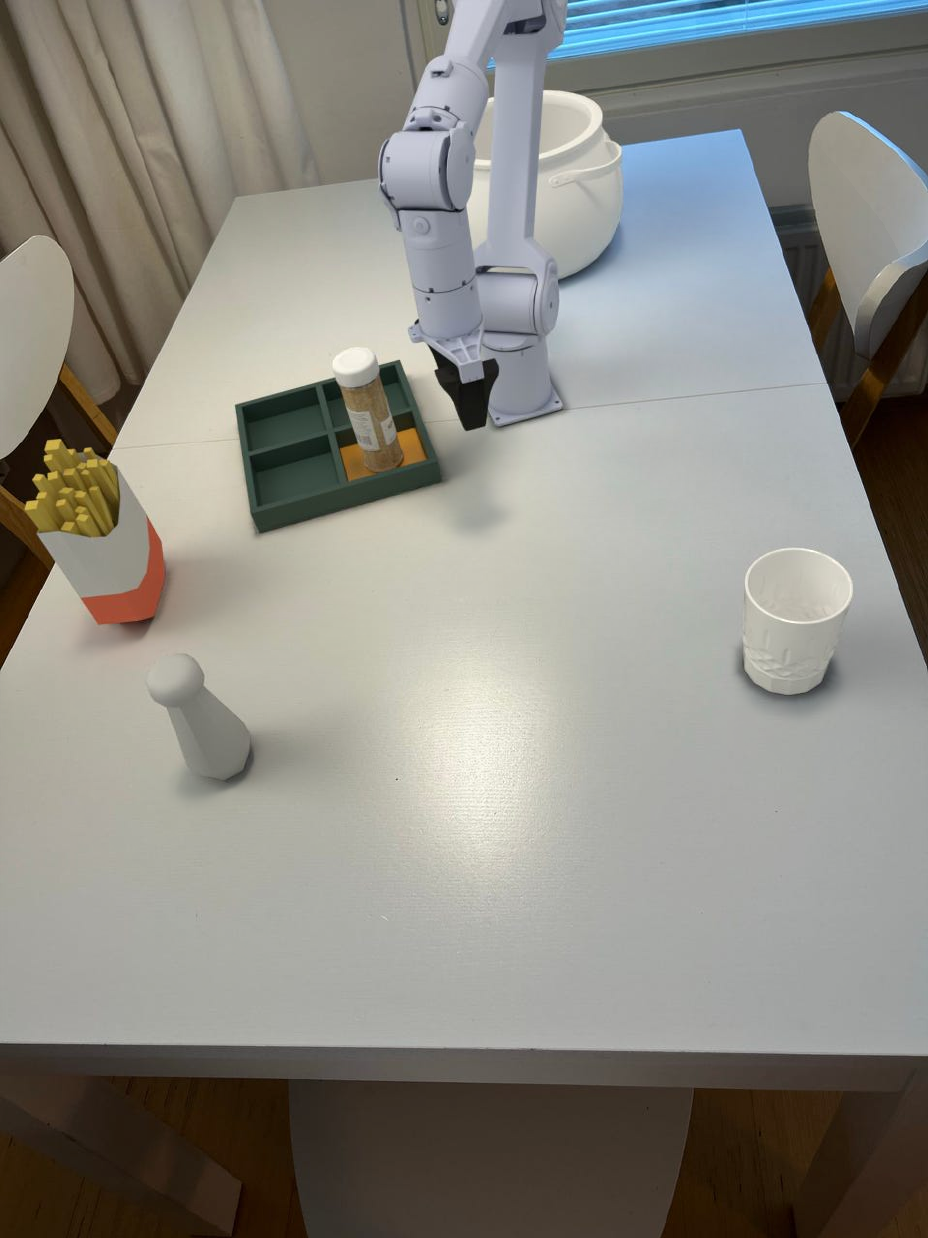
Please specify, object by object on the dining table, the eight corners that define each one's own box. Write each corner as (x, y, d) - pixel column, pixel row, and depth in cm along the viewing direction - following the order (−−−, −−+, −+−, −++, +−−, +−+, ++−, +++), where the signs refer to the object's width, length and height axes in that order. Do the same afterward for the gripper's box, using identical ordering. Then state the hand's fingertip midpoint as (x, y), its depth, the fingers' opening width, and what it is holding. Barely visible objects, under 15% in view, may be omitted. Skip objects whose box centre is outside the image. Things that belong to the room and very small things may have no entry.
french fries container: (174, 557, 100) (100, 421, 86) (152, 636, 92) (68, 500, 79) (133, 562, 100) (53, 427, 87) (108, 641, 93) (17, 506, 79)
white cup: (837, 636, 80) (857, 554, 73) (829, 710, 76) (849, 631, 68) (743, 621, 83) (752, 541, 75) (729, 692, 78) (737, 614, 71)
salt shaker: (197, 737, 84) (137, 645, 74) (260, 727, 83) (208, 634, 73) (190, 794, 80) (126, 705, 70) (256, 783, 79) (201, 693, 70)
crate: (242, 423, 114) (234, 404, 111) (404, 379, 115) (399, 358, 113) (259, 533, 100) (250, 513, 98) (442, 481, 101) (438, 460, 99)
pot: (392, 276, 131) (365, 157, 119) (495, 189, 144) (481, 73, 132) (568, 317, 118) (559, 188, 106) (665, 218, 131) (667, 92, 118)
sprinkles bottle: (412, 460, 103) (383, 357, 93) (377, 480, 102) (344, 378, 92) (390, 441, 106) (361, 339, 96) (356, 460, 105) (322, 359, 95)
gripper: (384, 251, 87) (410, 376, 97) (416, 328, 77) (442, 458, 87) (457, 232, 87) (476, 359, 97) (499, 306, 77) (515, 438, 88)
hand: (465, 404), depth 92 cm, fingers open, 7 cm apart
